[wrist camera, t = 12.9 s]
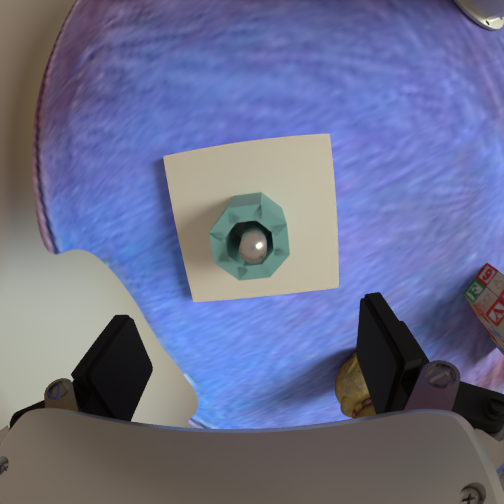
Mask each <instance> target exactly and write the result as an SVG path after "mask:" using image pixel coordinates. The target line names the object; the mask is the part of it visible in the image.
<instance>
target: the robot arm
mask: <svg viewBox="0 0 504 504" xmlns="http://www.w3.org/2000/svg"><path fill="white" fill-rule="evenodd" d="M453 1H454V2H455V3H456V4H457V5H458V7H459V8H460V9H461V10H462V11H463V12H464V13H465V14H466V15H467V16H468V17H470V18H471V19H472V20H473V21H474V22H476V23H477V24H479V25H480V26H482V27H484V28H486V29H488V30H492V31H495V30H498V29H501V28H502V27H503V24H504V0H453ZM356 356H357V360H358V363H359V366H360V369H361V371H362V374H363V377H364V380H365V383H366V386H367V389H368V392H369V395H370V398H371V401H372V404H373V407H374V410H375V413H376V415H371V416H365V417H360V418H354V419H348V420H342V421H335V422H328V423H320V424H312V425H303V426H293V427H281V428H264V429H201V428H183V427H171V426H162V425H153V424H145V423H138V422H131V419H132V417H133V414H134V412H135V410H136V407H137V405H138V403H139V401H140V398H141V396H142V394H143V391H144V389H145V387H146V385H147V382H148V380H149V378H150V376H151V373H152V370H153V369H152V368H153V367H152V363H151V361H150V359H149V356H148V354H147V352H146V350H145V347H144V345H143V342H142V340H141V338H140V335H139V333H138V330H137V328H136V325H135V322H134V320H133V319H132V318H130V317H129V315H115V316H114V317H113V319H112V320H111V321H110V322H109V324H108V325H107V326H106V328H105V329H104V330H103V331H102V333H101V334H100V335H99V337H98V338H97V339H96V341H95V342H94V343H93V345H92V346H91V347H90V349H89V350H88V352H87V353H86V354H85V356H84V357H83V358H82V360H81V361H80V363H79V364H78V365H77V366H76V368H75V369H74V371H73V372H72V374H71V376H72V377H73V379H74V380H73V382H71V381H70V380H69V379H66V378H61V379H58V380H55V381H53V382H52V383H51V384H49V386H48V387H47V388H46V390H45V394H44V398H45V400H43V401H41V402H38V403H36V404H34V405H32V406H29V407H27V408H24V409H22V410H20V411H17V412H16V413H14V415H13V416H12V419H11V421H10V428H9V427H8V426H6V427H5V428H3V429H2V430H0V504H504V394H501V393H498V392H495V391H491V390H488V389H485V388H481V387H478V386H474V385H471V384H468V383H465V382H462V381H460V373H459V370H458V369H457V368H456V367H455V366H454V365H453V364H451V363H449V362H447V361H441V360H437V361H432V362H429V360H428V358H427V357H426V355H425V354H424V352H423V350H422V349H421V347H420V346H419V344H418V343H417V341H416V339H415V338H414V336H413V335H412V333H411V332H410V330H409V329H408V327H407V326H406V324H405V323H404V322H403V321H399V320H398V319H397V317H396V316H395V314H394V313H393V311H392V310H391V308H390V307H389V305H388V304H387V302H386V301H385V299H384V298H383V296H382V295H381V293H380V292H377V293H370V294H366V295H365V297H364V298H362V299H361V300H360V312H359V326H358V337H357V347H356Z"/></svg>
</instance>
